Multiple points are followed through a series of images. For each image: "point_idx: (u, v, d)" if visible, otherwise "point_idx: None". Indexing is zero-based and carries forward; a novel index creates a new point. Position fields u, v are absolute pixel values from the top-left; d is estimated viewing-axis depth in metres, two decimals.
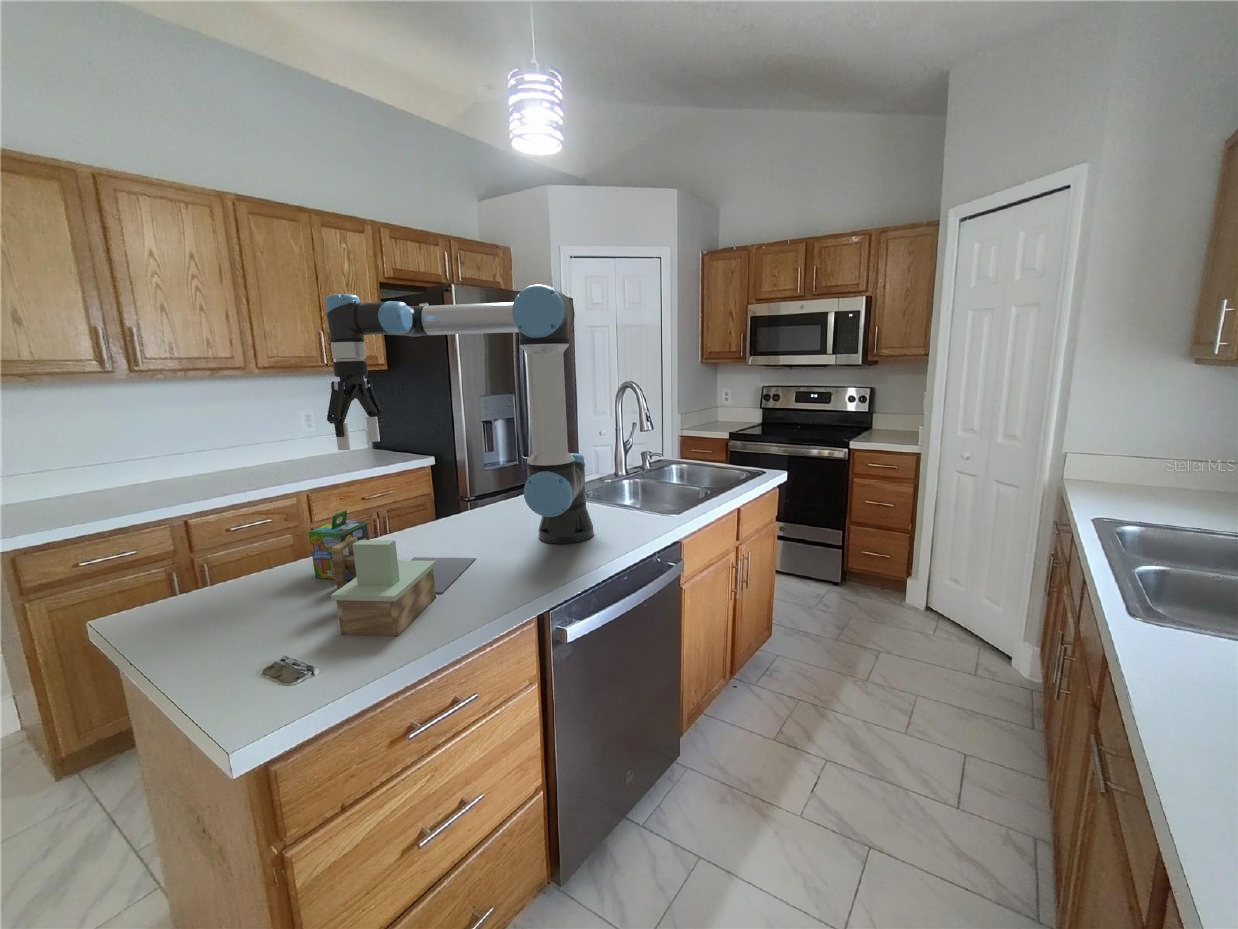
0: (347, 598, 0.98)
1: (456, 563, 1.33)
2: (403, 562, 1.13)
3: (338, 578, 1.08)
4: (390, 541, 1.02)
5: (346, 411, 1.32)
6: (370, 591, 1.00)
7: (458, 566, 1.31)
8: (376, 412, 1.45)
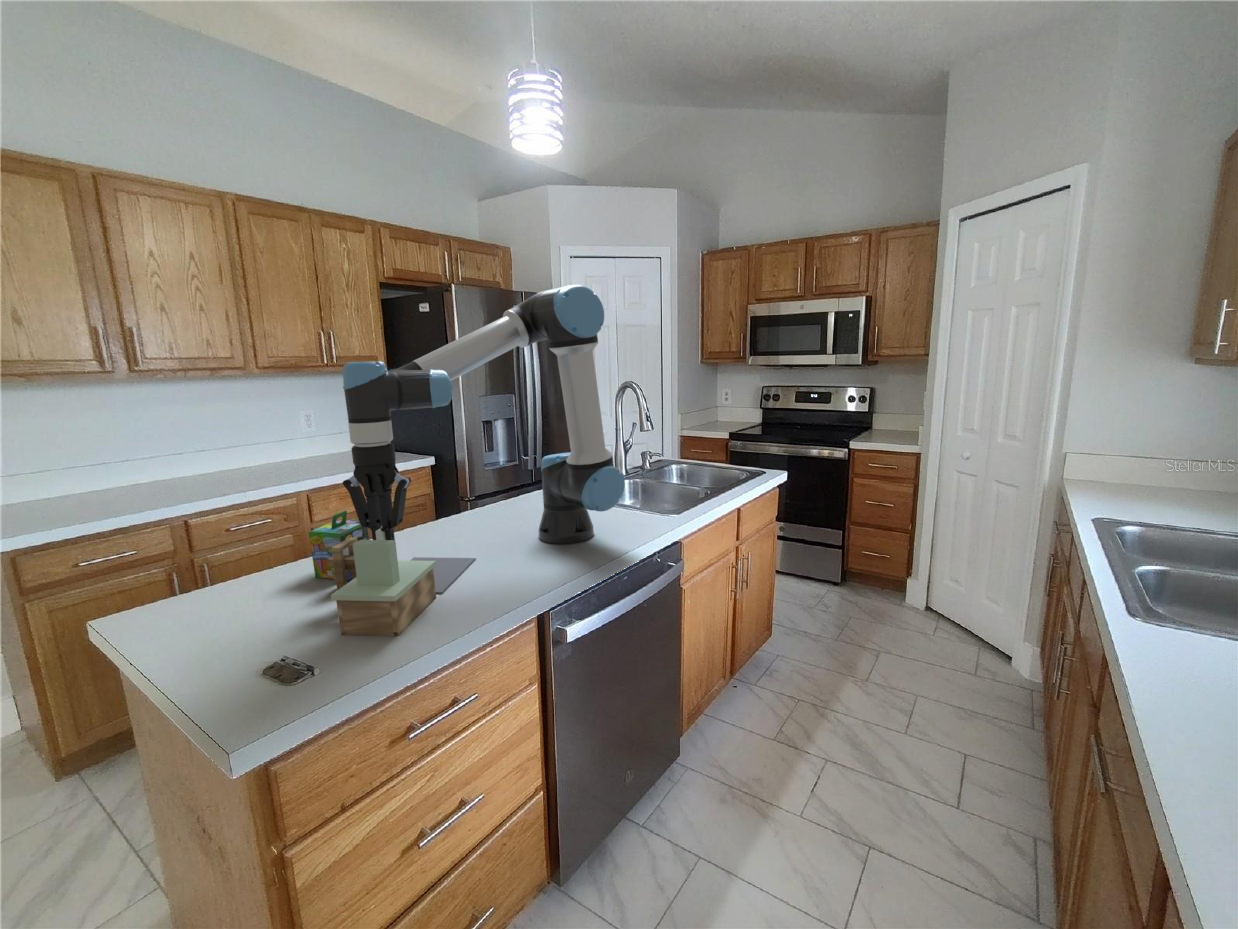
0: (347, 598, 0.98)
1: (456, 563, 1.33)
2: (403, 562, 1.13)
3: (338, 578, 1.08)
4: (390, 541, 1.02)
5: (371, 514, 1.07)
6: (370, 591, 1.00)
7: (458, 566, 1.31)
8: (384, 524, 1.07)
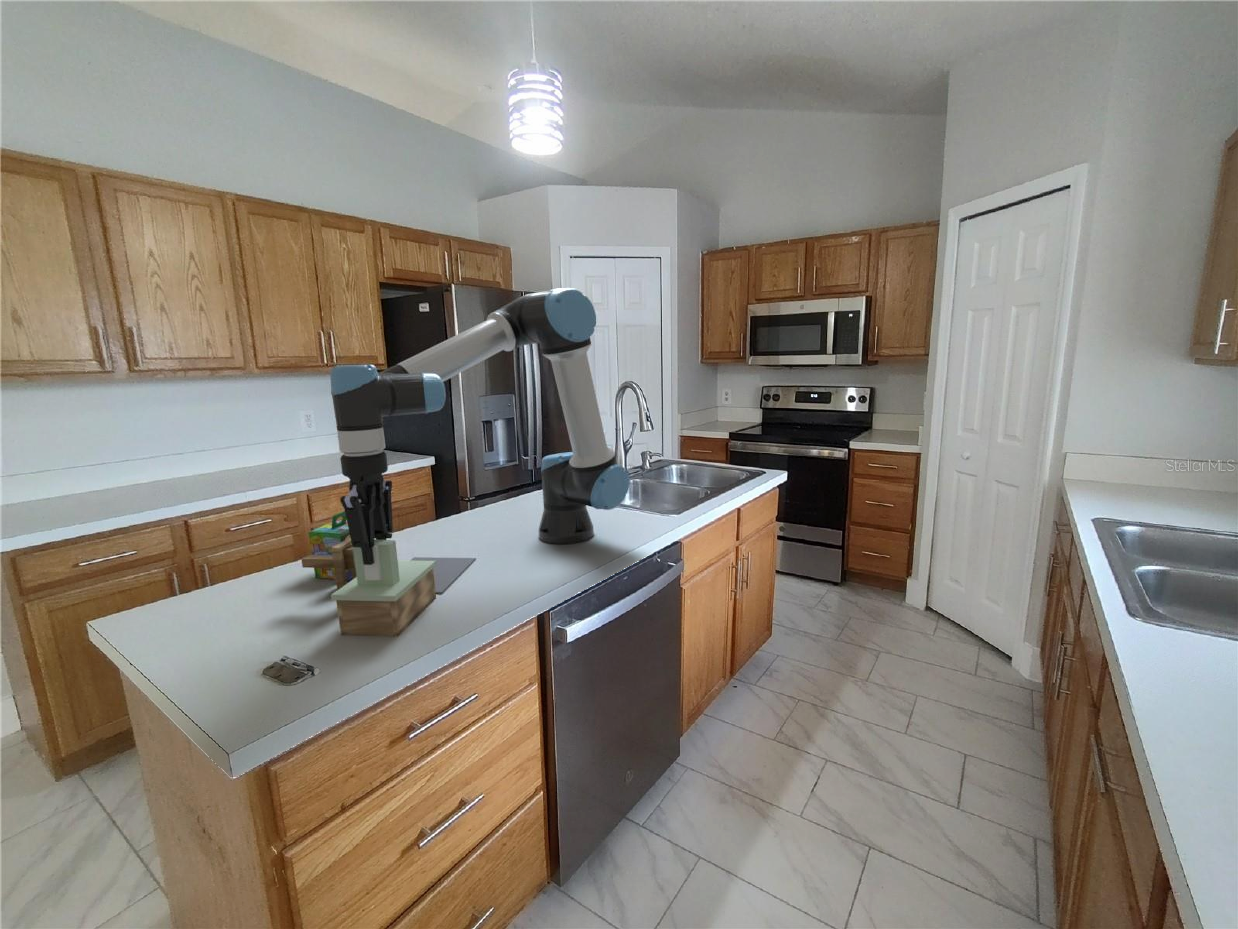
0: (347, 598, 0.98)
1: (456, 563, 1.33)
2: (403, 562, 1.13)
3: (338, 578, 1.08)
4: (390, 541, 1.02)
5: (372, 529, 0.99)
6: (370, 591, 1.00)
7: (458, 566, 1.31)
8: (386, 532, 1.04)
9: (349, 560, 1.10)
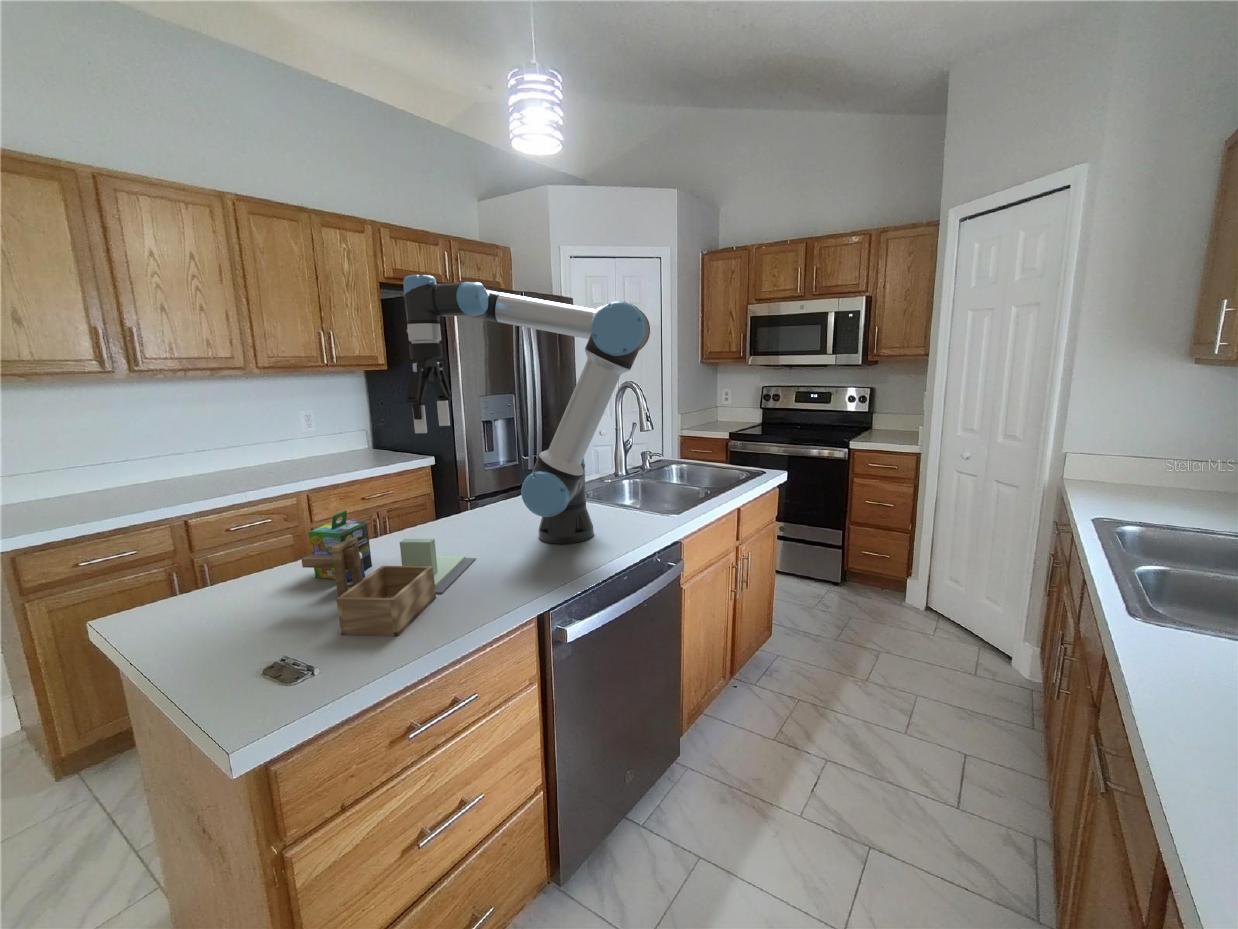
0: None
1: None
2: (437, 557, 1.34)
3: (338, 578, 1.08)
4: (430, 539, 1.23)
5: (423, 394, 1.31)
6: None
7: None
8: (447, 396, 1.44)
9: (349, 560, 1.10)
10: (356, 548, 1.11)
